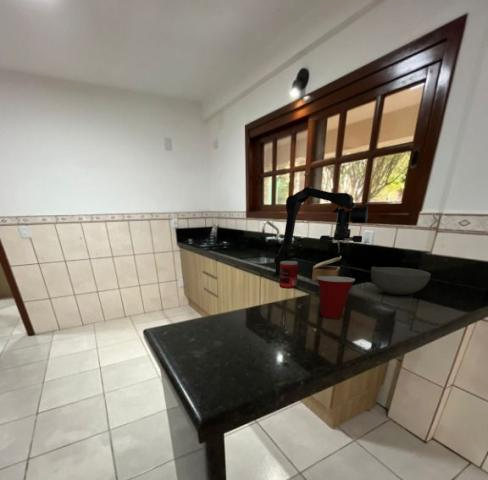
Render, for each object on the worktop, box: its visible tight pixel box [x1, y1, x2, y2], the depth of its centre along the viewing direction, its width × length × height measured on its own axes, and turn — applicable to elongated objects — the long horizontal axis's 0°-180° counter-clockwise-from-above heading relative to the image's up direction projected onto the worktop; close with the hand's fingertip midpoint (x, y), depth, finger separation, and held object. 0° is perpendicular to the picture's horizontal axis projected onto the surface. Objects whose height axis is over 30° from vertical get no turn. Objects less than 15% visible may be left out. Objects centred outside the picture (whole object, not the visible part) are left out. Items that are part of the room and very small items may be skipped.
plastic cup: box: [317, 276, 356, 319], centre depth 79 cm, size 11×11×12 cm
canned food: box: [278, 260, 299, 290], centre depth 116 cm, size 8×8×11 cm
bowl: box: [370, 266, 432, 296], centre depth 104 cm, size 20×20×10 cm
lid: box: [312, 255, 342, 270], centre depth 131 cm, size 12×13×1 cm
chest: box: [311, 265, 341, 282], centre depth 133 cm, size 12×13×6 cm
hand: (338, 257), depth 128 cm, fingers closed
